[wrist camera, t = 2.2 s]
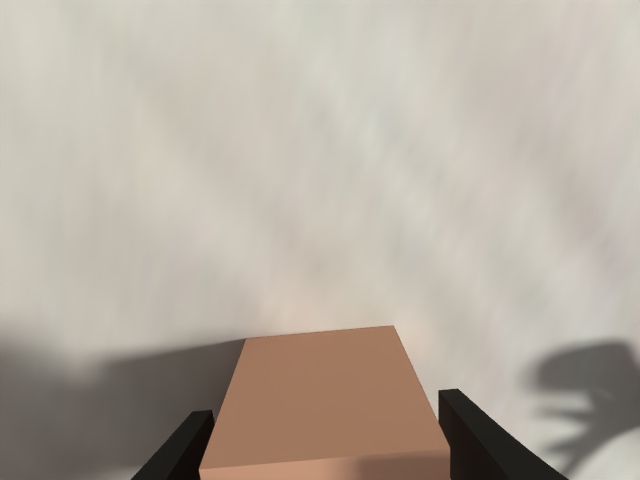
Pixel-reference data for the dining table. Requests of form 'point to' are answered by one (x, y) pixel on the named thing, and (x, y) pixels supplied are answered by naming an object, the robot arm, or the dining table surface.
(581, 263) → the dining table surface
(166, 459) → the robot arm
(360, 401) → the terracotta cube
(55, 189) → the dining table surface
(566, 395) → the dining table surface
